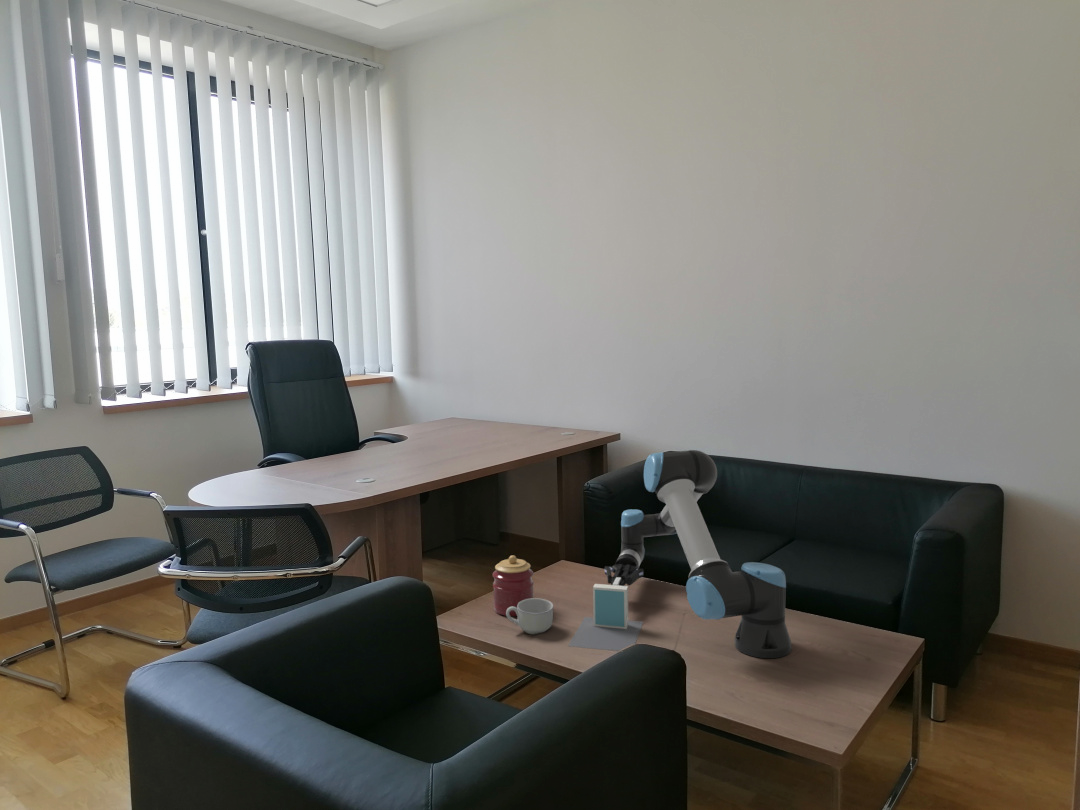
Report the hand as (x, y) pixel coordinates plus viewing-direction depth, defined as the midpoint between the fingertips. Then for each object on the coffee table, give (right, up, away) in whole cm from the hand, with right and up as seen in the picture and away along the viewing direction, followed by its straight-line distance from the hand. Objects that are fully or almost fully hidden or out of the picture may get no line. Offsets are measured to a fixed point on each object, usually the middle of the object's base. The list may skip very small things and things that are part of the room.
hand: (614, 588), depth 242 cm
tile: (-2, -10, -6) cm, 12 cm away
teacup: (-26, -11, -7) cm, 29 cm away
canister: (-31, -9, +10) cm, 34 cm away
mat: (-3, -11, -12) cm, 16 cm away
